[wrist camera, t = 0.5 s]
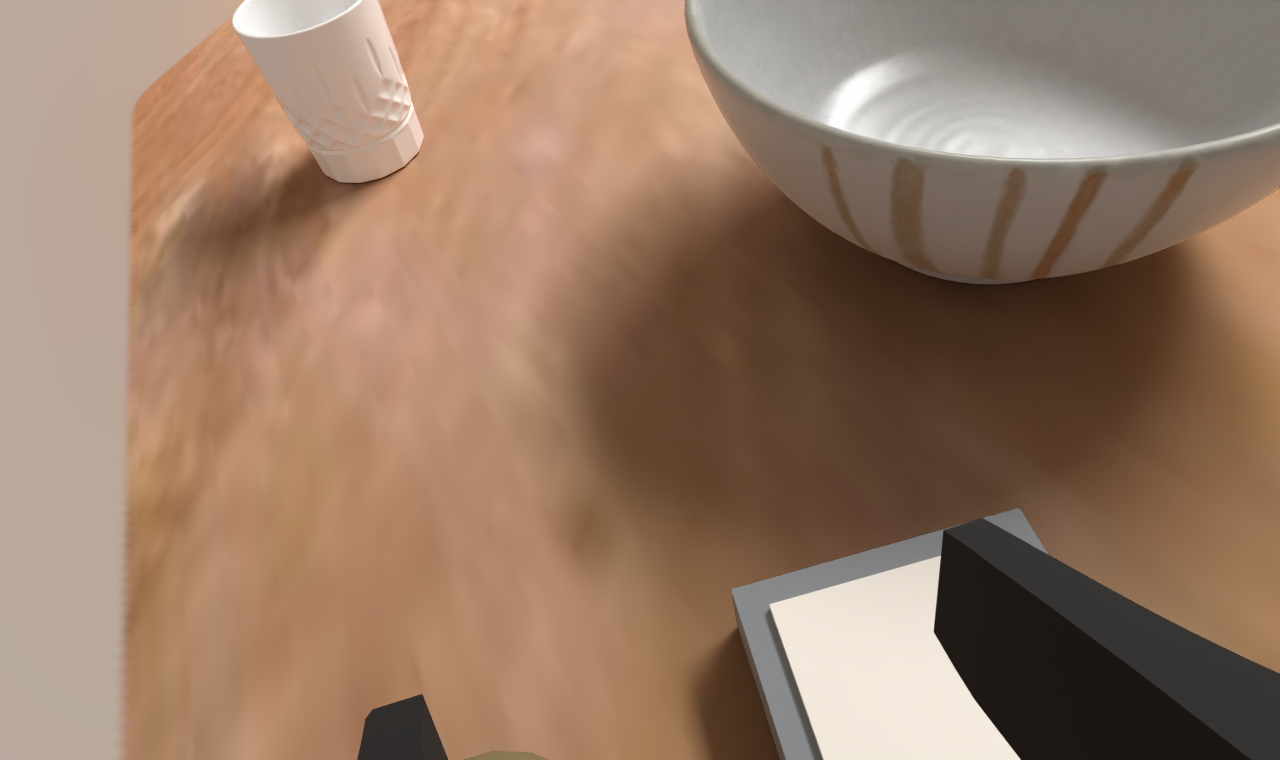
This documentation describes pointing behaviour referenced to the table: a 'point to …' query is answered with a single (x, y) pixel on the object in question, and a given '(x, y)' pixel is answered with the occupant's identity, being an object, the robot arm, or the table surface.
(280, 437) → the table surface
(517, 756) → the cork
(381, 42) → the white cup
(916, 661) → the plinth
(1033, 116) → the decorative bowl
